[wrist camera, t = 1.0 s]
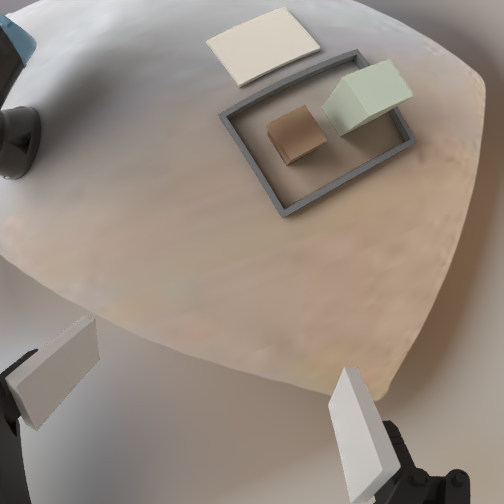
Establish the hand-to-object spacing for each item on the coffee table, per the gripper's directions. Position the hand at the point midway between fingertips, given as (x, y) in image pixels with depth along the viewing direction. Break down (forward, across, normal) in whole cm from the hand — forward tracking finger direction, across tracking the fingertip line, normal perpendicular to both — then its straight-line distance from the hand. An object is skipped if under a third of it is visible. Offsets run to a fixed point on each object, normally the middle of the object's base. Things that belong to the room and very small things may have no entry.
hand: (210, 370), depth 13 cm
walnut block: (+28, +4, +16) cm, 32 cm away
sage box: (+28, +11, +23) cm, 38 cm away
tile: (+28, -3, +32) cm, 42 cm away
